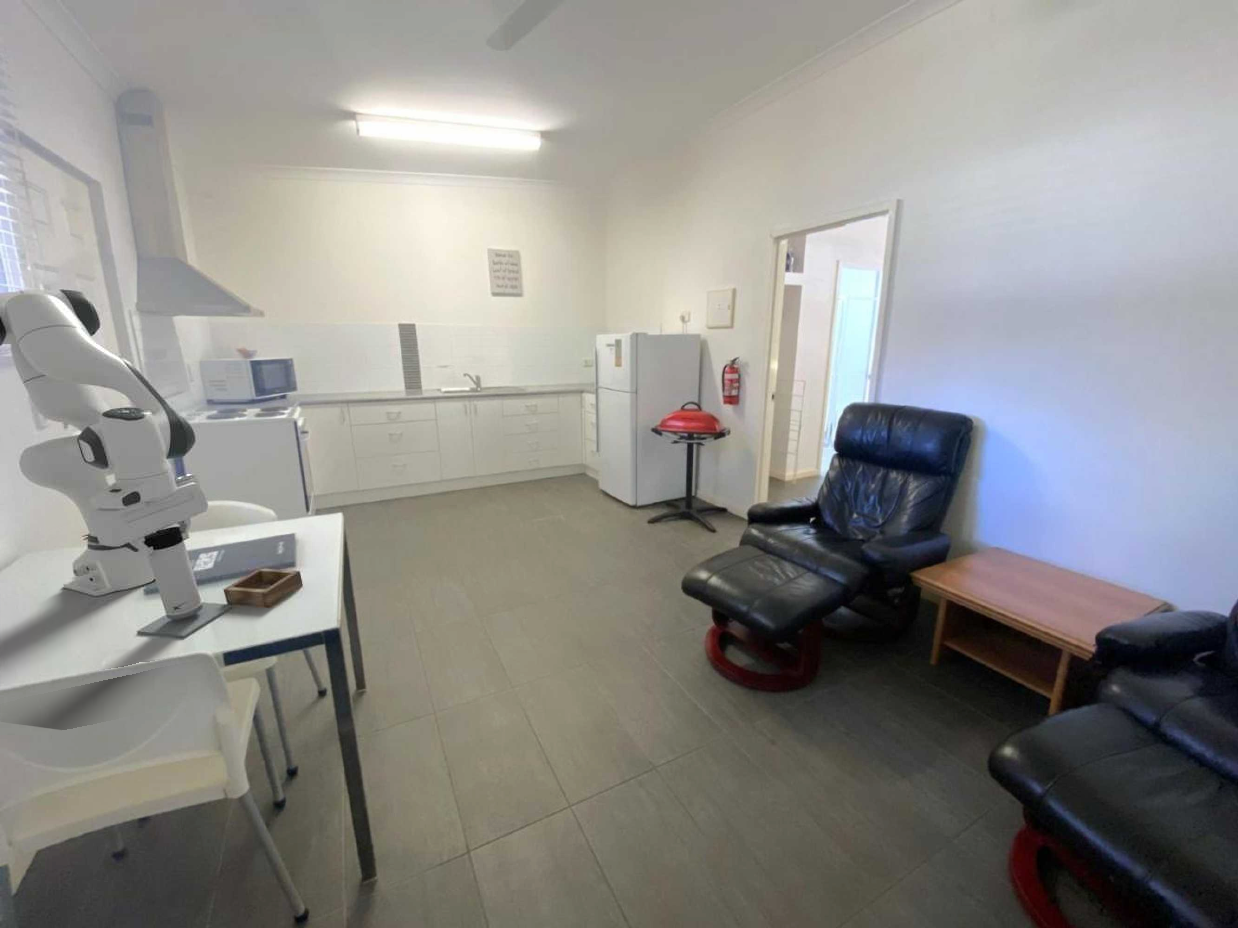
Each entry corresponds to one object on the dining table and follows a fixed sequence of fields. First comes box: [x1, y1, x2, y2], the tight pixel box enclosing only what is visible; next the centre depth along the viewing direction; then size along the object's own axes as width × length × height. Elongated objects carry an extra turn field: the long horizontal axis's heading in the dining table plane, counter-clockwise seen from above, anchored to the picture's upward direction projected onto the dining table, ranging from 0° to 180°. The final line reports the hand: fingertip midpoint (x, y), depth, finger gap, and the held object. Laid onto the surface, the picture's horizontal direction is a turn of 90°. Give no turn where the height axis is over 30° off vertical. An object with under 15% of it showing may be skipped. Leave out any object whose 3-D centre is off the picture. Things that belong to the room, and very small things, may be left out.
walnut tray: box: [222, 567, 303, 609], centre depth 124 cm, size 11×10×4 cm
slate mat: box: [136, 601, 235, 639], centre depth 115 cm, size 12×12×1 cm
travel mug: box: [144, 526, 203, 620], centre depth 112 cm, size 6×7×20 cm
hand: (165, 547), depth 110 cm, fingers closed on travel mug, 6 cm apart
